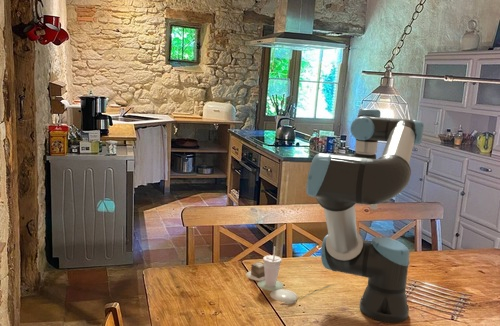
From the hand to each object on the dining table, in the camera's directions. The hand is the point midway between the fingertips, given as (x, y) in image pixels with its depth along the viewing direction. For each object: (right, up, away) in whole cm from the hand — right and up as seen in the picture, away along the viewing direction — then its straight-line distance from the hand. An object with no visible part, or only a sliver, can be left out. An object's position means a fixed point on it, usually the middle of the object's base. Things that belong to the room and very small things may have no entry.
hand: (359, 210), depth 166 cm
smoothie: (-32, -25, -6) cm, 42 cm away
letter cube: (-36, -24, +2) cm, 43 cm away
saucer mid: (-33, -26, -5) cm, 42 cm away
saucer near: (-29, -28, -13) cm, 42 cm away
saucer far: (-36, -25, +2) cm, 44 cm away
